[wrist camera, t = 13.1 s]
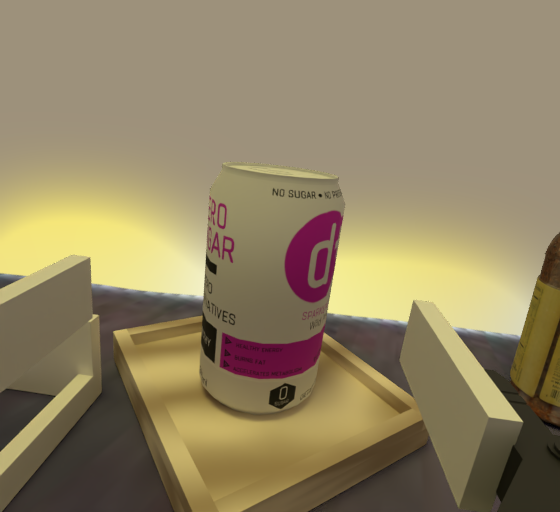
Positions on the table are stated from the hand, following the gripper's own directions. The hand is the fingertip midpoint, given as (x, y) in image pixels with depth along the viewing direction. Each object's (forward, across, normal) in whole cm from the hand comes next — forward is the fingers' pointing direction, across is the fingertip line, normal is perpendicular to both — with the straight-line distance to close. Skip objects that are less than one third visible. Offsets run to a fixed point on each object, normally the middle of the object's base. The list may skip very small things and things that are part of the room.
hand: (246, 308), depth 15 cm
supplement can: (+9, 0, -10) cm, 14 cm away
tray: (+10, 0, -12) cm, 15 cm away
